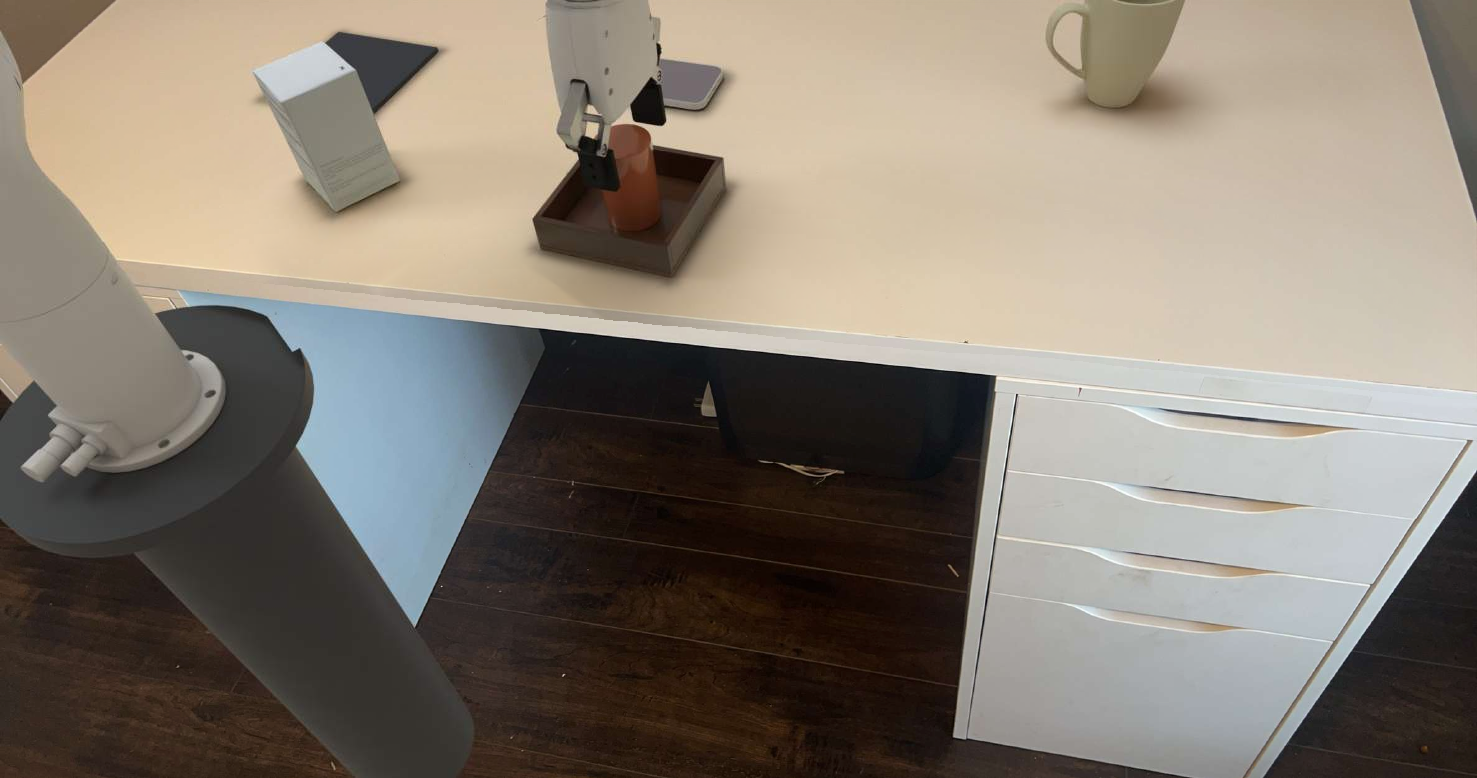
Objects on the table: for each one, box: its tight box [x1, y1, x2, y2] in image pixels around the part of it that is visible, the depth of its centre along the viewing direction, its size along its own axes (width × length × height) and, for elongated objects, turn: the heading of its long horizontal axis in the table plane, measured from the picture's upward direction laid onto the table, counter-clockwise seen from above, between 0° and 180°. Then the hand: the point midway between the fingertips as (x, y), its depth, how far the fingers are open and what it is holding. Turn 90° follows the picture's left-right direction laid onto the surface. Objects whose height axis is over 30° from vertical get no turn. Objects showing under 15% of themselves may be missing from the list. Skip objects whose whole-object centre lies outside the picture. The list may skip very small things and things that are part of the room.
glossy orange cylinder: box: [593, 123, 662, 231], centre depth 89 cm, size 5×5×8 cm
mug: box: [1045, 0, 1186, 109], centre depth 96 cm, size 11×10×12 cm
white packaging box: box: [251, 41, 401, 213], centre depth 95 cm, size 7×7×13 cm
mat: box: [324, 31, 439, 115], centre depth 113 cm, size 14×14×1 cm
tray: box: [531, 144, 727, 278], centre depth 92 cm, size 13×13×4 cm
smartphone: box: [657, 57, 724, 111], centre depth 107 cm, size 7×1×15 cm
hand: (627, 153), depth 88 cm, fingers open, 9 cm apart
